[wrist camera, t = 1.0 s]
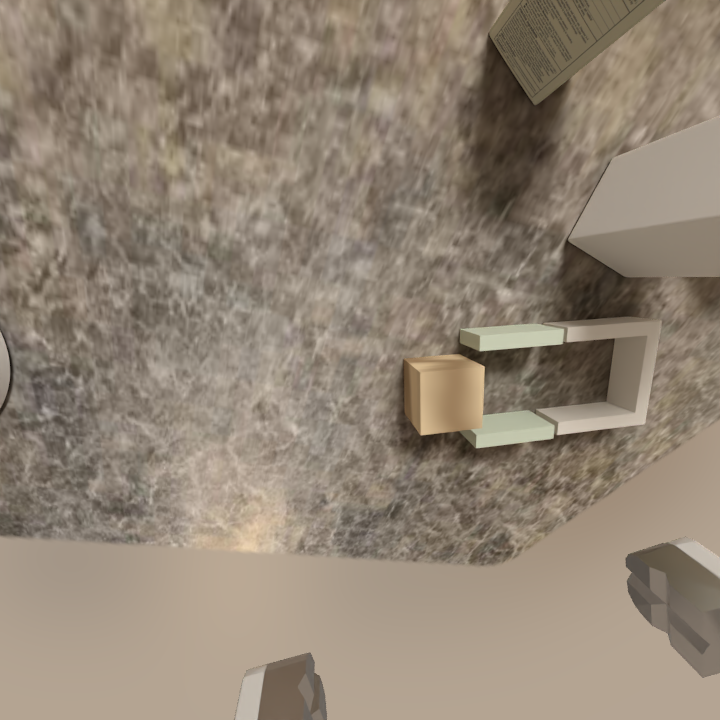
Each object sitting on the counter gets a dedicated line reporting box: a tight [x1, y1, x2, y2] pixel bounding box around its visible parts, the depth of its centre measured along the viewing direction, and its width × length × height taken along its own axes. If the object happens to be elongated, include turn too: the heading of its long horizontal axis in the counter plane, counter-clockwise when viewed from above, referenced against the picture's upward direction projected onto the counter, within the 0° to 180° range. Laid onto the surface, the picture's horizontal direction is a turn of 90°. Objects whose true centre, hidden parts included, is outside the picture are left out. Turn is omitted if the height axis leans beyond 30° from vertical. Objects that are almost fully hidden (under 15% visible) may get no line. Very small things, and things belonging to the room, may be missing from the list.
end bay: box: [535, 316, 662, 435], centre depth 30 cm, size 9×9×3 cm
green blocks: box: [459, 324, 564, 448], centre depth 29 cm, size 7×9×4 cm
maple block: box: [404, 354, 485, 435], centre depth 28 cm, size 5×5×4 cm
